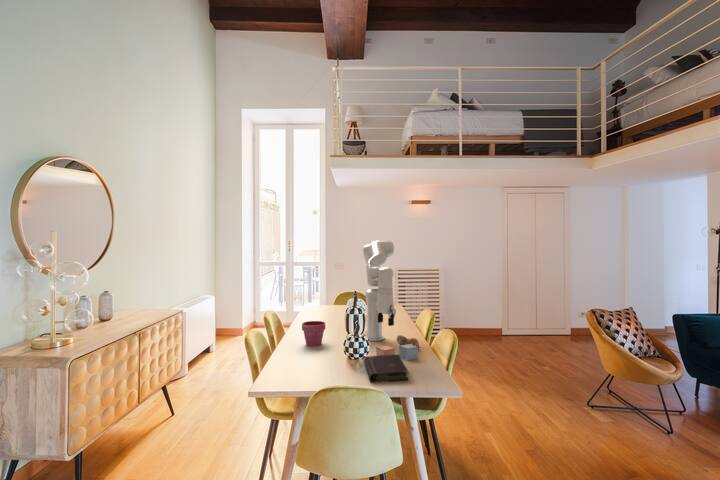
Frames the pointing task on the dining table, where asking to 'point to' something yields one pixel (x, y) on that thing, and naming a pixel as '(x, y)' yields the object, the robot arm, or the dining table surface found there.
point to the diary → (386, 368)
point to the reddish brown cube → (385, 350)
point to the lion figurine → (407, 341)
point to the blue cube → (408, 352)
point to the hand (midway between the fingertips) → (385, 323)
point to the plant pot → (313, 332)
